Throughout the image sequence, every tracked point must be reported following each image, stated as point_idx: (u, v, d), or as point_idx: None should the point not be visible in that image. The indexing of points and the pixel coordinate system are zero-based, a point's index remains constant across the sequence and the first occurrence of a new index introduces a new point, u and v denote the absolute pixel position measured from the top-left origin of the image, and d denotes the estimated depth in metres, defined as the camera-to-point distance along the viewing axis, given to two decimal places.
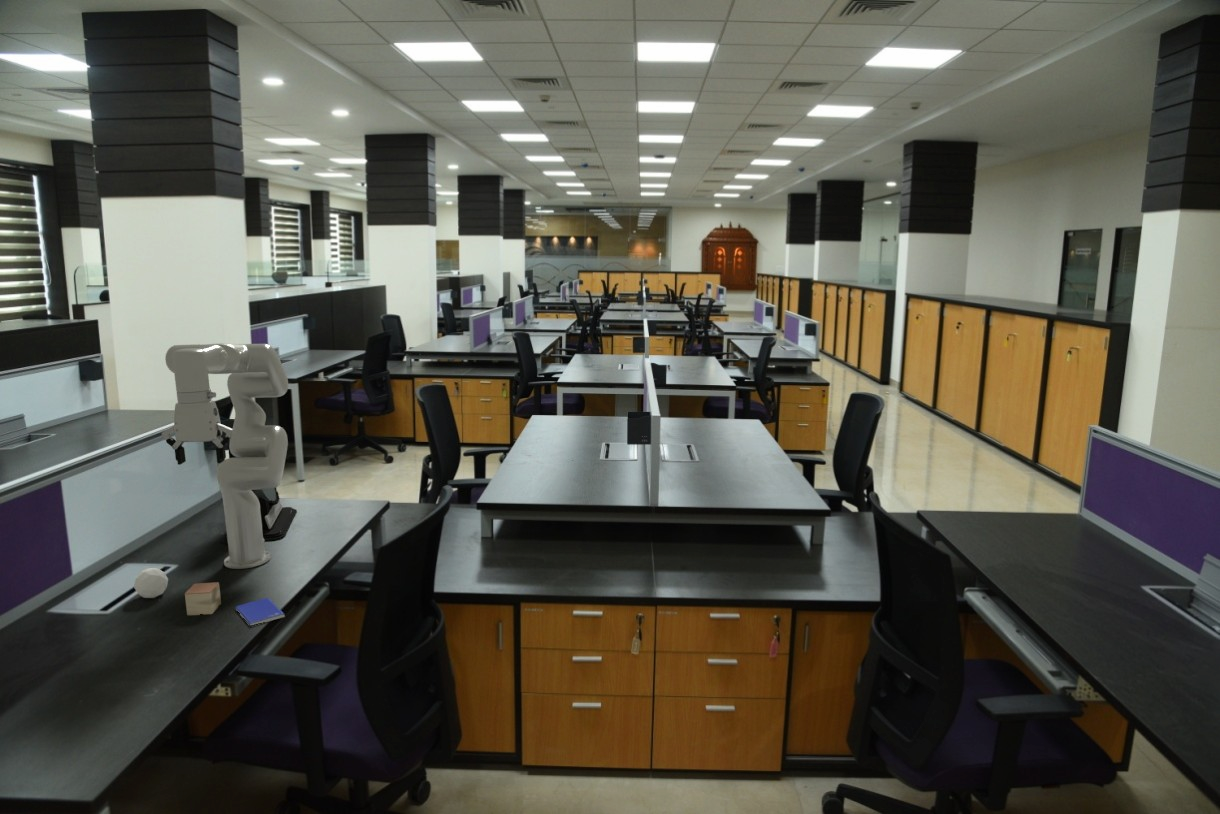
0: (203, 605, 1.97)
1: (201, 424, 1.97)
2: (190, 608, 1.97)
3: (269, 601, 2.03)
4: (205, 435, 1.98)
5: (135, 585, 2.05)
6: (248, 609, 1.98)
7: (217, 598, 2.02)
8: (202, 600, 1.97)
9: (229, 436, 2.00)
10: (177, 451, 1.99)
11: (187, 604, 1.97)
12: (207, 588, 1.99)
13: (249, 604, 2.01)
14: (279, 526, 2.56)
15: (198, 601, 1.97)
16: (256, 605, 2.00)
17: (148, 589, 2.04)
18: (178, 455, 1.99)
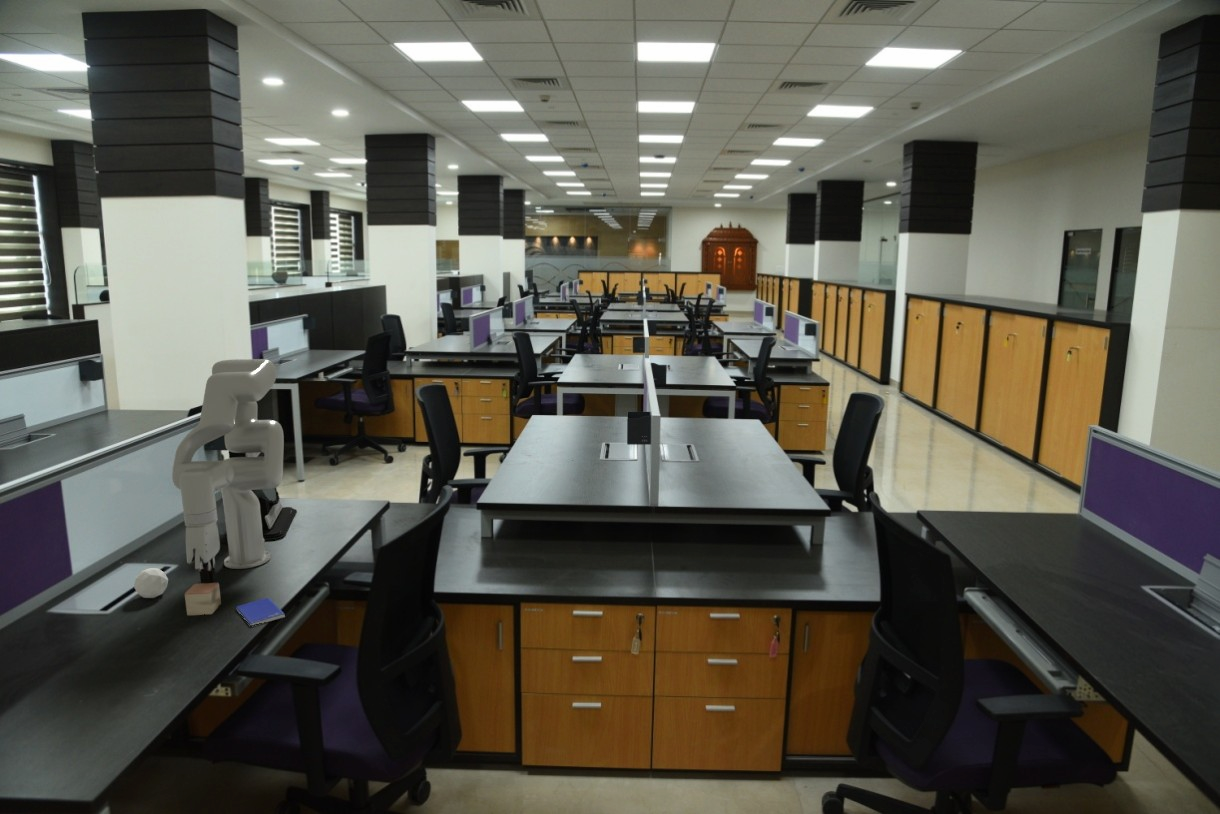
0: (203, 605, 1.97)
1: (216, 537, 2.04)
2: (190, 608, 1.97)
3: (269, 601, 2.03)
4: (217, 548, 2.05)
5: (135, 585, 2.05)
6: (248, 609, 1.98)
7: (217, 598, 2.02)
8: (202, 600, 1.97)
9: None
10: (212, 571, 2.03)
11: (186, 604, 1.97)
12: (207, 588, 1.99)
13: (249, 604, 2.01)
14: (279, 526, 2.56)
15: (198, 601, 1.97)
16: (256, 605, 2.00)
17: (148, 589, 2.04)
18: (213, 575, 2.03)
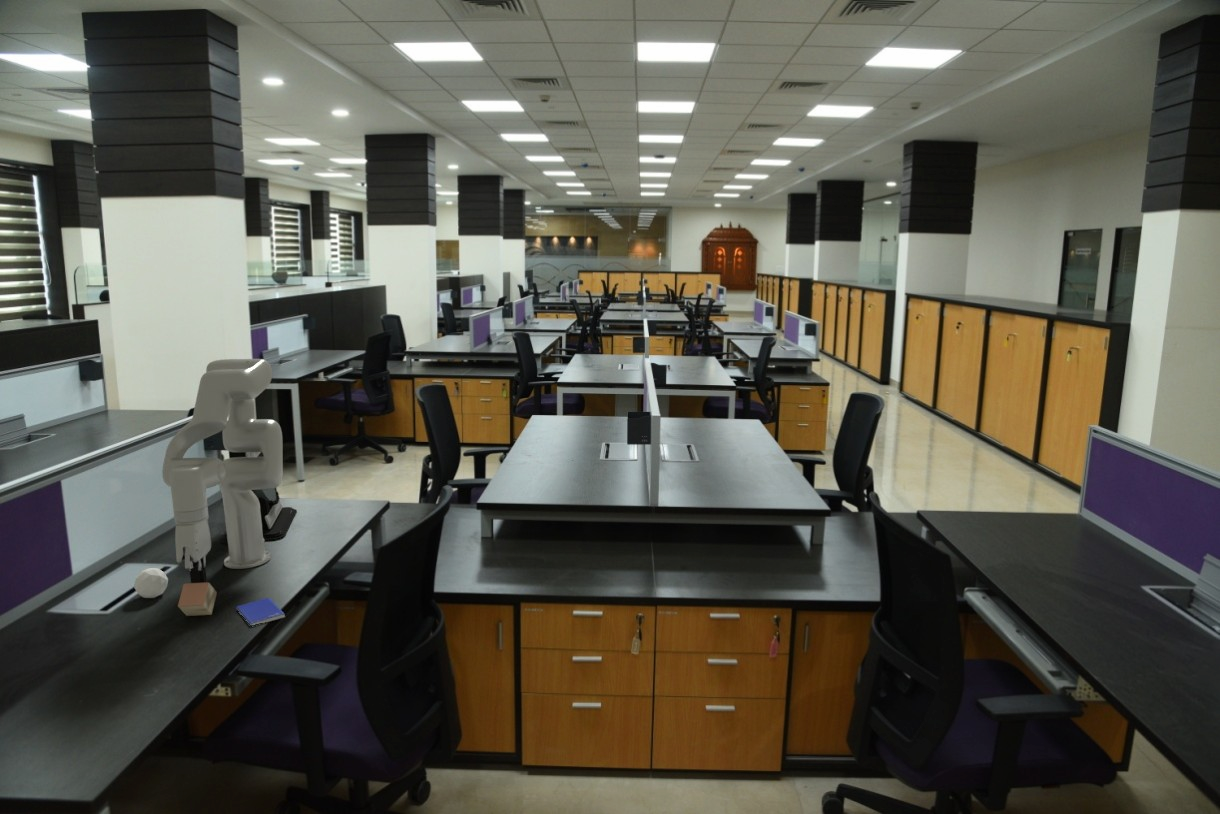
0: (200, 611, 1.95)
1: (207, 536, 1.98)
2: (187, 612, 1.96)
3: (270, 601, 2.03)
4: (208, 547, 1.99)
5: (135, 585, 2.05)
6: (248, 609, 1.98)
7: (212, 595, 1.98)
8: (198, 608, 1.94)
9: (204, 555, 2.00)
10: (203, 571, 1.97)
11: (183, 611, 1.95)
12: (199, 596, 1.94)
13: (250, 604, 2.01)
14: (279, 526, 2.56)
15: (194, 609, 1.94)
16: (257, 605, 2.00)
17: (148, 589, 2.04)
18: (204, 574, 1.97)
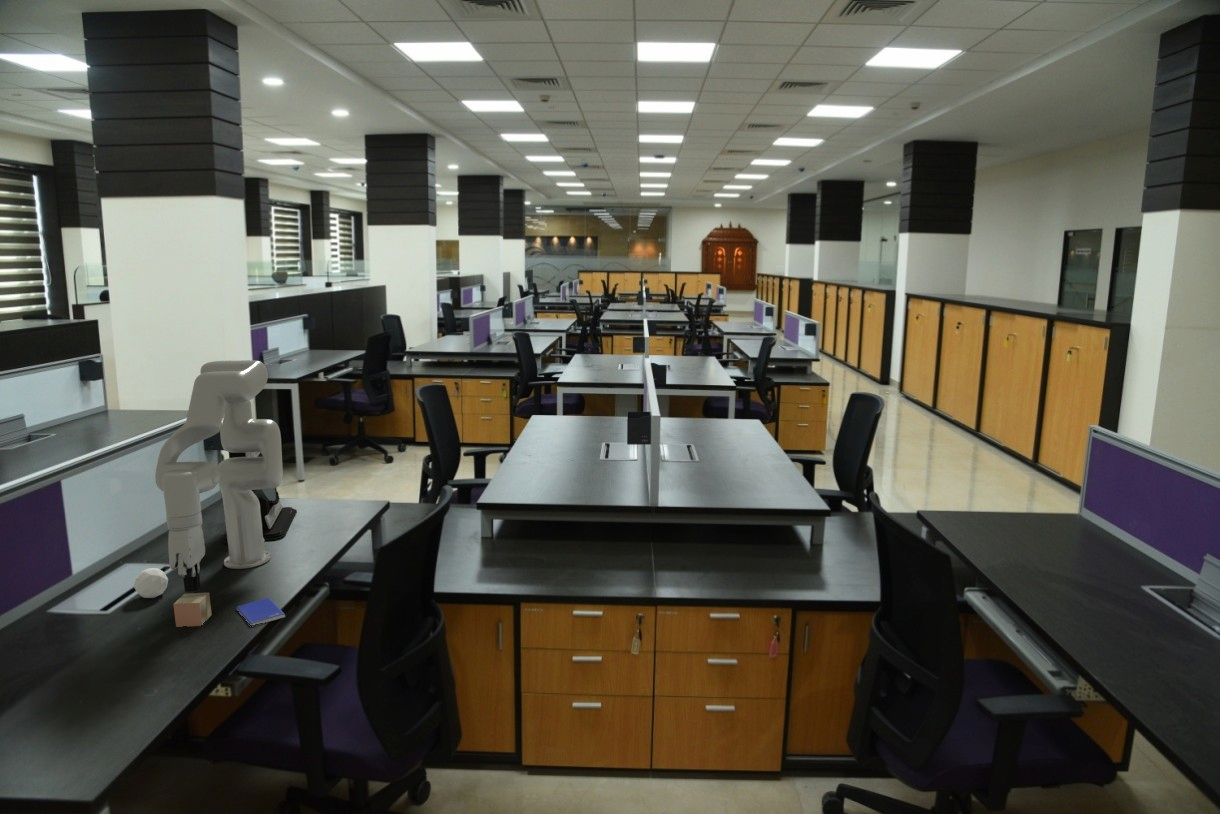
0: None
1: (201, 542, 1.94)
2: None
3: (270, 601, 2.03)
4: (202, 552, 1.95)
5: (135, 585, 2.05)
6: (248, 609, 1.98)
7: (206, 603, 1.94)
8: None
9: (198, 561, 1.97)
10: (197, 577, 1.93)
11: None
12: (194, 617, 1.91)
13: (250, 604, 2.01)
14: (279, 526, 2.56)
15: None
16: (257, 605, 2.00)
17: (148, 589, 2.04)
18: (197, 581, 1.94)
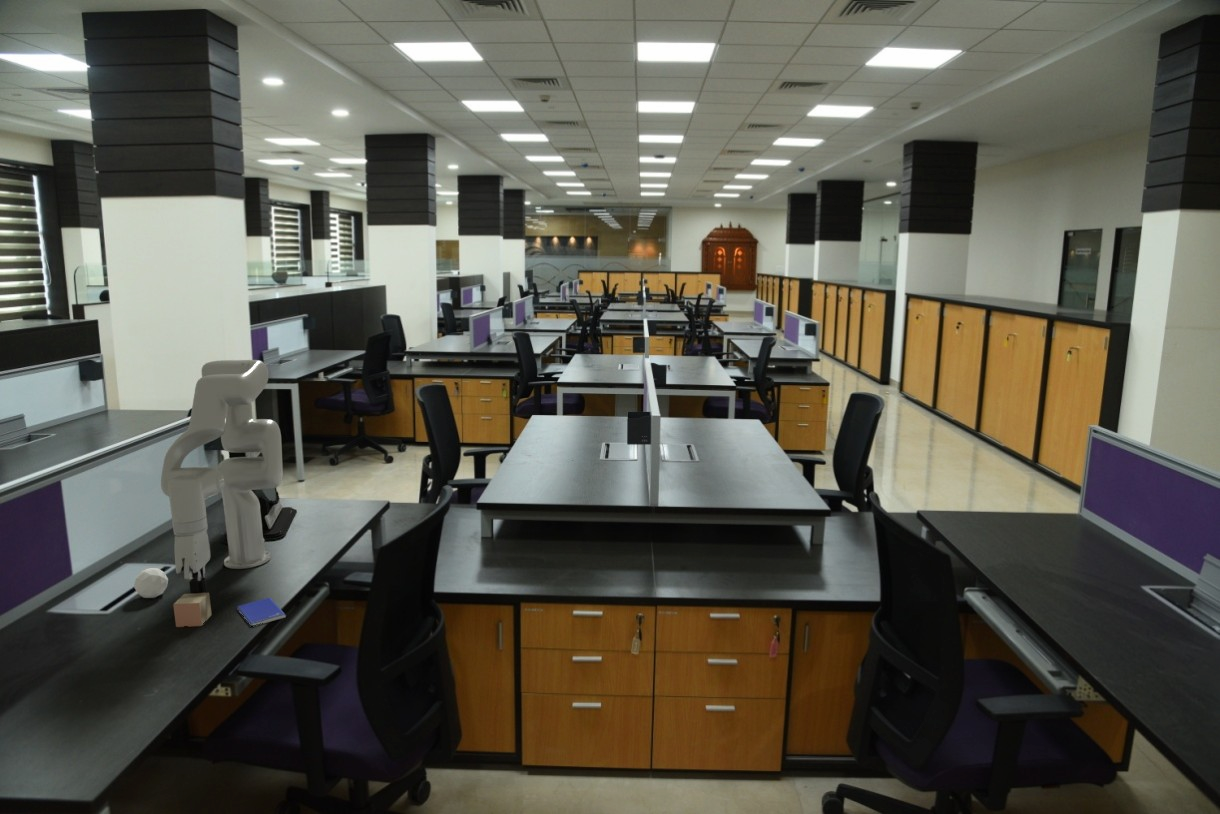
0: None
1: (206, 546, 1.97)
2: None
3: (271, 601, 2.03)
4: (207, 557, 1.98)
5: (135, 585, 2.05)
6: (249, 609, 1.98)
7: (205, 603, 1.94)
8: None
9: (204, 565, 2.00)
10: (203, 581, 1.96)
11: None
12: (194, 617, 1.91)
13: (251, 604, 2.01)
14: (279, 526, 2.56)
15: None
16: (257, 605, 2.00)
17: (148, 588, 2.04)
18: (203, 585, 1.97)
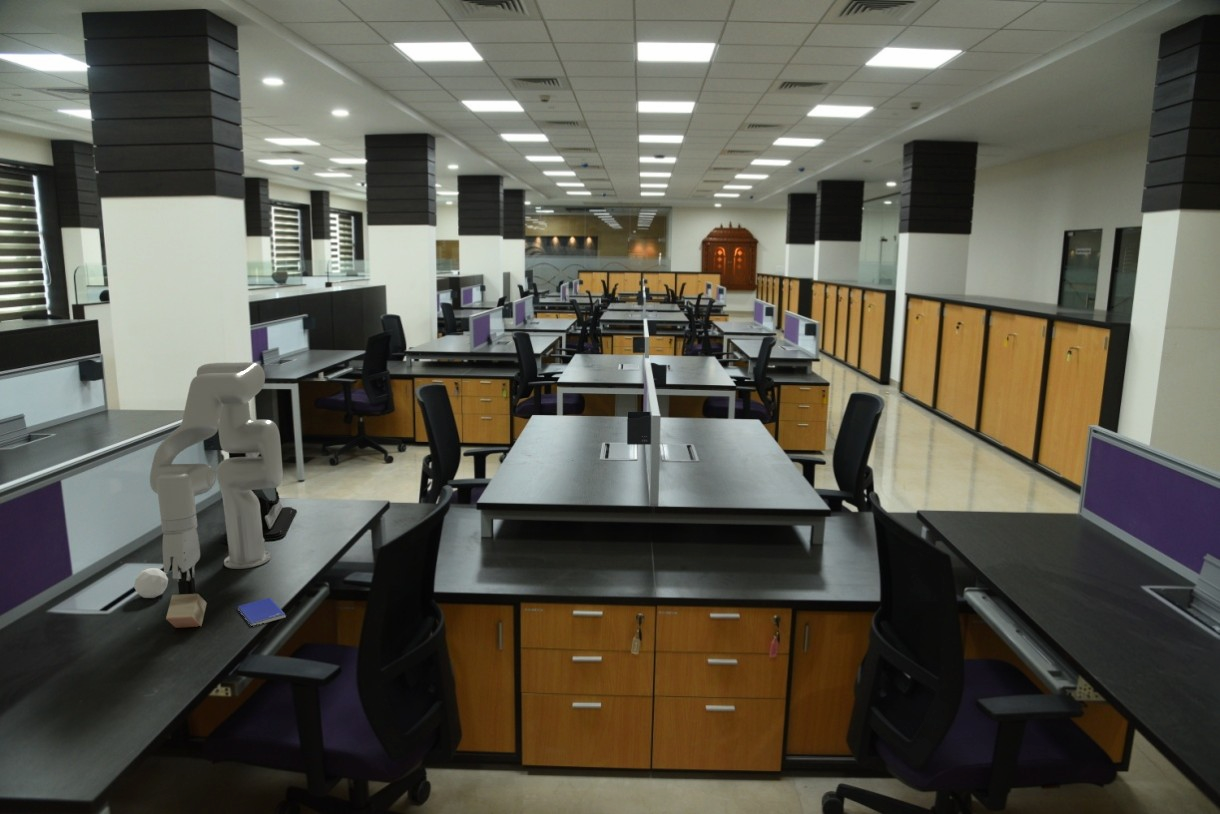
0: None
1: (196, 545, 1.91)
2: None
3: (271, 601, 2.03)
4: (197, 556, 1.92)
5: (135, 585, 2.05)
6: (249, 609, 1.98)
7: (198, 606, 1.90)
8: None
9: (193, 565, 1.94)
10: (192, 581, 1.90)
11: None
12: (191, 623, 1.89)
13: (251, 604, 2.01)
14: (279, 526, 2.56)
15: None
16: (258, 605, 2.00)
17: (148, 589, 2.04)
18: (192, 585, 1.91)
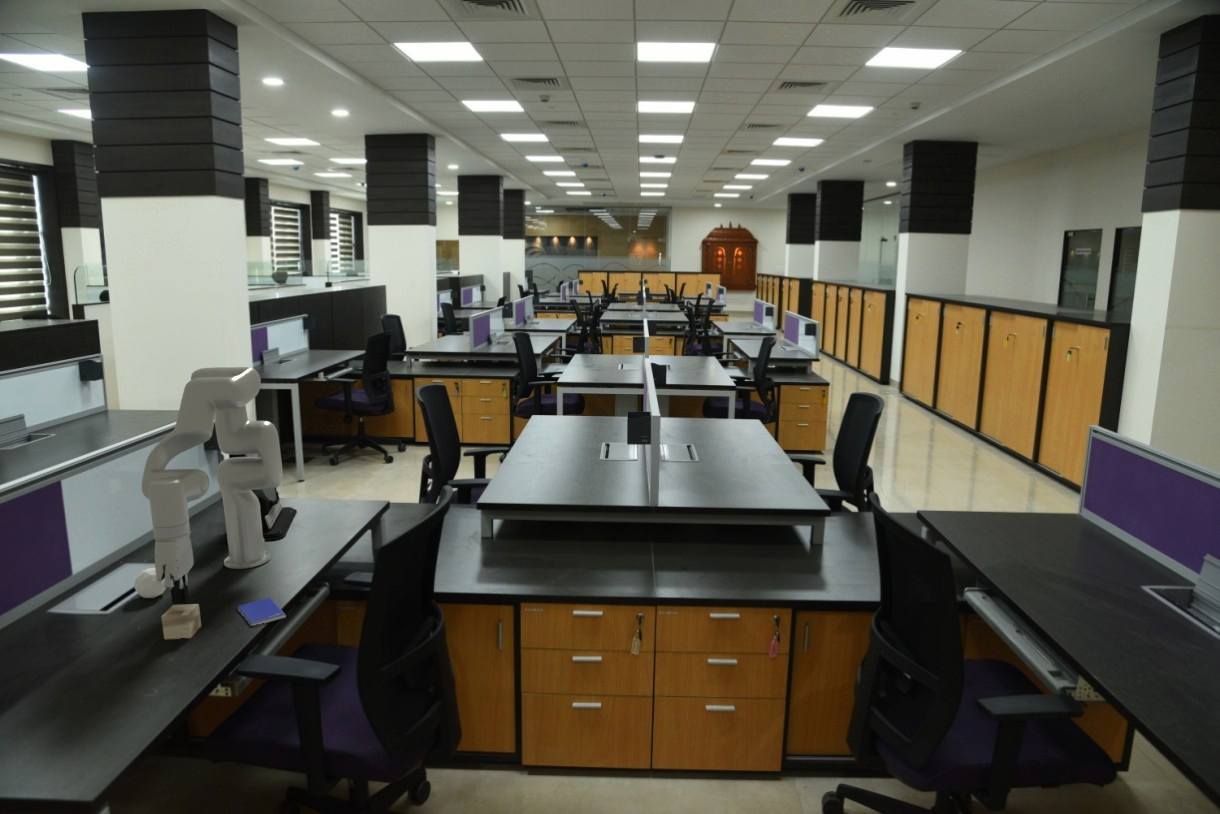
0: None
1: (189, 552, 1.87)
2: None
3: (271, 601, 2.03)
4: (190, 563, 1.88)
5: (135, 585, 2.05)
6: (249, 609, 1.98)
7: (192, 620, 1.87)
8: None
9: (187, 572, 1.90)
10: (185, 589, 1.86)
11: None
12: None
13: (251, 604, 2.01)
14: (279, 526, 2.56)
15: None
16: (258, 605, 2.00)
17: (148, 589, 2.04)
18: (185, 593, 1.87)
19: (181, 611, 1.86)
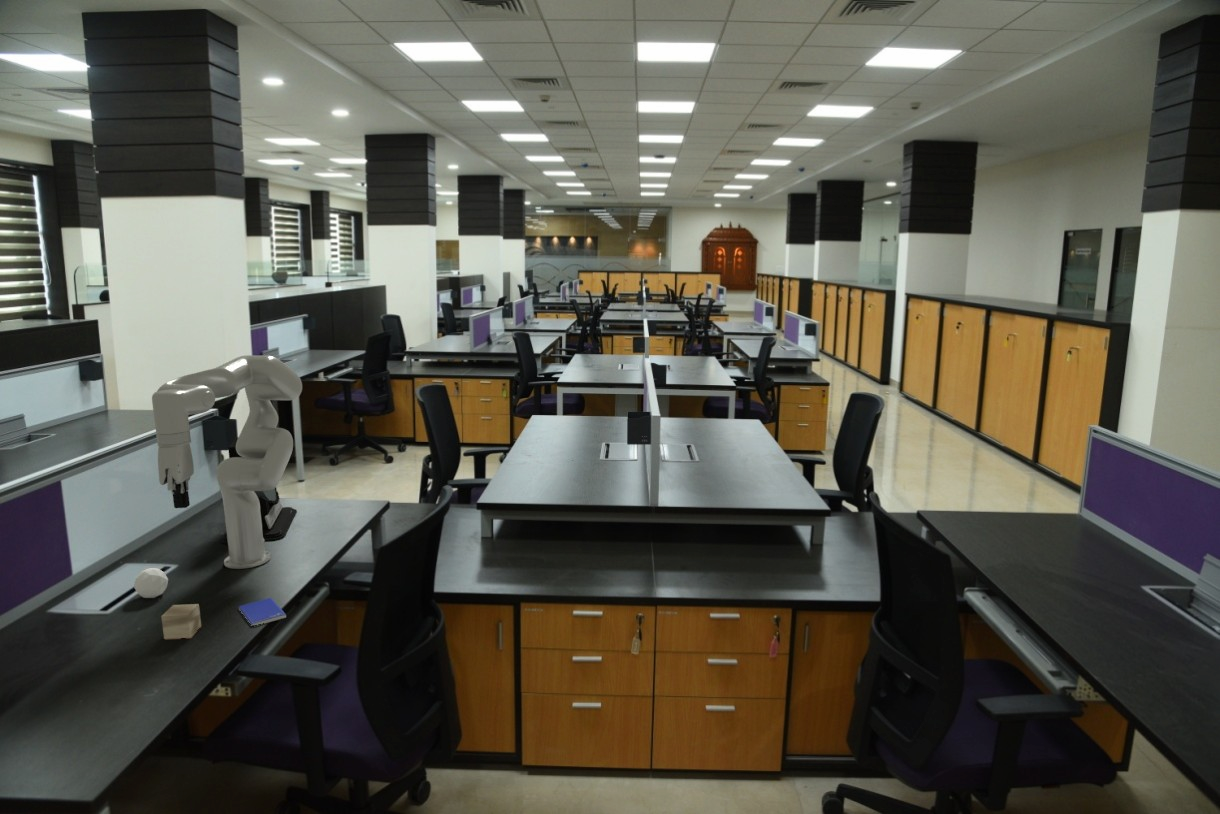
0: None
1: (189, 460, 2.03)
2: None
3: (272, 601, 2.03)
4: (191, 471, 2.04)
5: (135, 585, 2.05)
6: (250, 609, 1.98)
7: (192, 620, 1.87)
8: None
9: (187, 480, 2.05)
10: (186, 494, 2.02)
11: None
12: None
13: (252, 604, 2.01)
14: (279, 526, 2.56)
15: None
16: (259, 605, 2.00)
17: (148, 589, 2.04)
18: (186, 498, 2.02)
19: (181, 611, 1.86)
